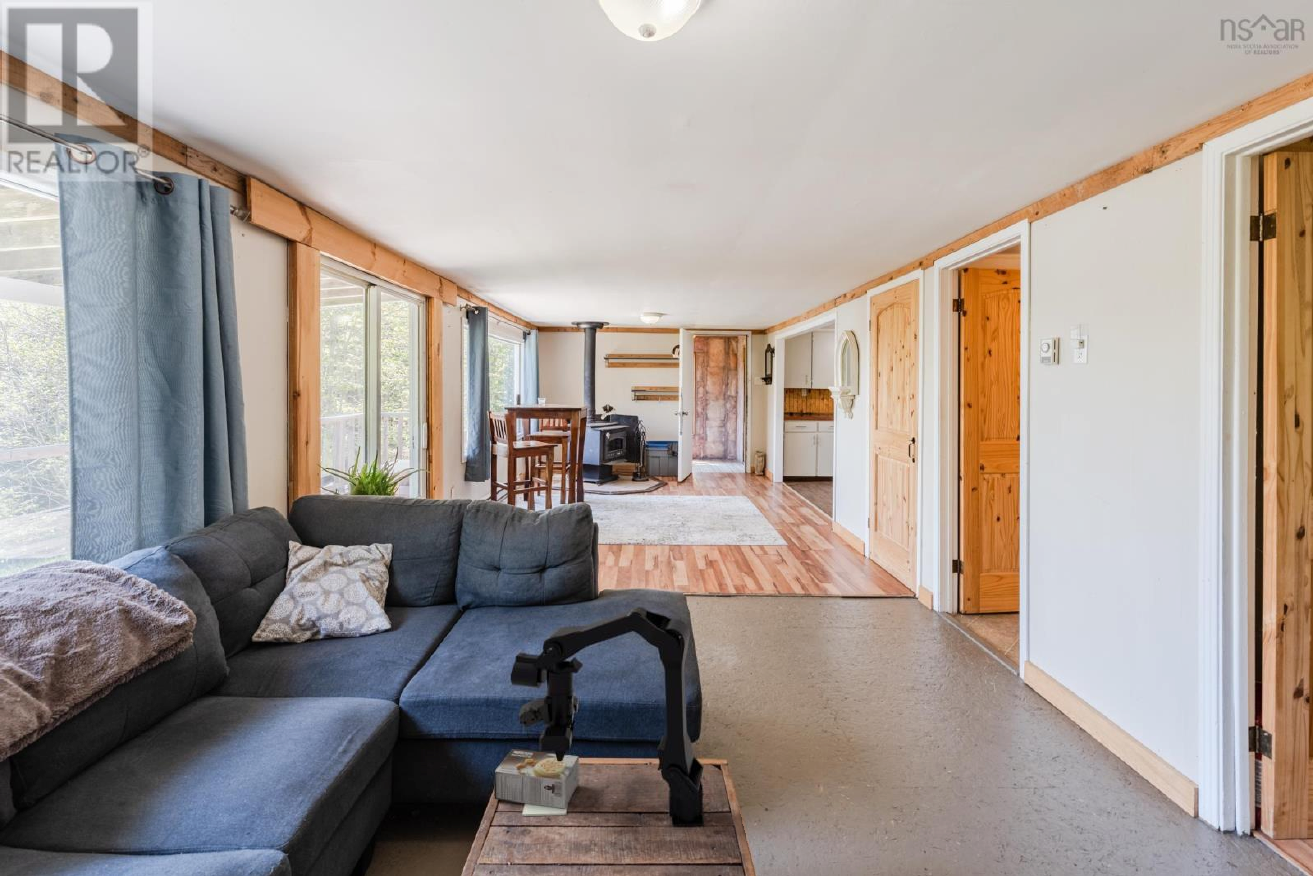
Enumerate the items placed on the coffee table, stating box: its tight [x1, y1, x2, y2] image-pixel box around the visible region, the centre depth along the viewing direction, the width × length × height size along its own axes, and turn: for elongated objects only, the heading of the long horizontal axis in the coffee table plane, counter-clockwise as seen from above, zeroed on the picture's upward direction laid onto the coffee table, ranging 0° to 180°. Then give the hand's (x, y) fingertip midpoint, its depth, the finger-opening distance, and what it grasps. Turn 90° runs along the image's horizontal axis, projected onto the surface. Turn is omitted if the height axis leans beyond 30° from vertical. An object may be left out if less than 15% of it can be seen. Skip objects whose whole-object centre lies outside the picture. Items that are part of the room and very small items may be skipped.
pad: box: [521, 803, 569, 817], centre depth 127 cm, size 9×12×1 cm
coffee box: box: [493, 748, 580, 808], centre depth 128 cm, size 9×6×16 cm
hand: (560, 760), depth 127 cm, fingers closed
